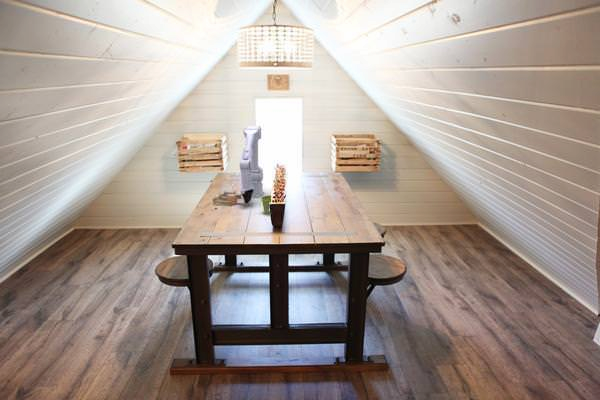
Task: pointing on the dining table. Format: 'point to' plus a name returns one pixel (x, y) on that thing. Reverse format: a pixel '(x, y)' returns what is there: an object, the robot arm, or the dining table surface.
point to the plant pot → (266, 203)
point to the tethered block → (234, 200)
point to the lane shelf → (223, 199)
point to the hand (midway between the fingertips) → (247, 202)
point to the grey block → (230, 192)
